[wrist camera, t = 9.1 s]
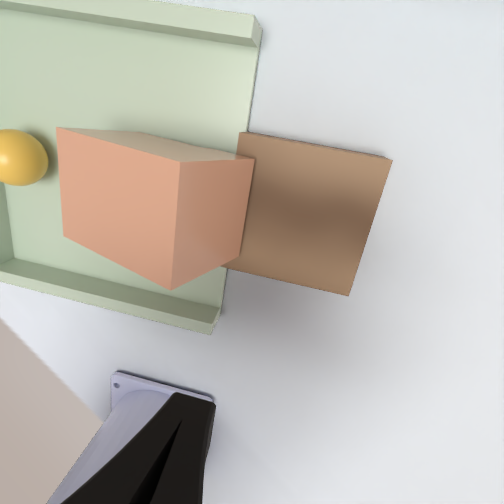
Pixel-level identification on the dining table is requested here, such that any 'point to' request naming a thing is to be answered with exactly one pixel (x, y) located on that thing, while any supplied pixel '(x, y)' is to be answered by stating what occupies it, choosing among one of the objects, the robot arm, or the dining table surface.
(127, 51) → the tray
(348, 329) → the dining table surface
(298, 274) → the coaster
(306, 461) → the dining table surface
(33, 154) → the ball
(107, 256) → the brown u-shaped block
